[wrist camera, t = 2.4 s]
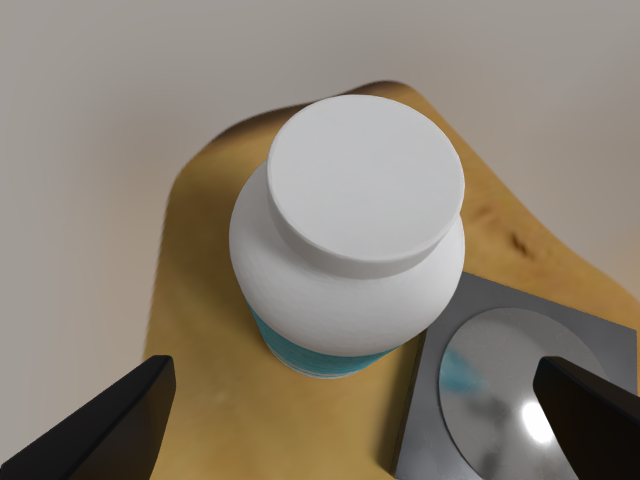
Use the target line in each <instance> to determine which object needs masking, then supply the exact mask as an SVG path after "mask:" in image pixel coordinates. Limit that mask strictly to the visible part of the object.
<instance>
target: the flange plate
mask: <svg viewBox="0 0 640 480" xmlns="http://www.w3.org/2000/svg"><path fill="white" fill-rule="evenodd" d="M543 356H560V357H562V358H564V359H566V360H568V361H570V362H572V363H574V364H576V365H578V366H580V367H582V368H584V369H586V370H588V371H590V372H592V373H594V374H595V375H597V376H599V377H601V378H603V379H605V380H607V381H609V382H611V383H613V384H615V385H617V386H619V387H621V388H623V389H625V390H626V391H628V392H630V393H632V394H634V395H636V396H637V335H636V330H634V329H631V328H628V327H625V326H622V325H619V324H616V323H613V322H610V321H607V320H604V319H601V318H598V317H595V316H593V315H590V314H587V313H584V312H581V311H578V310H575V309H572V308H569V307H566V306H563V305H560V304H557V303H554V302H551V301H548V300H546V299H543V298H540V297H537V296H534V295H531V294H528V293H525V292H522V291H519V290H516V289H513V288H510V287H507V286H504V285H501V284H498V283H496V282H493V281H490V280H487V279H484V278H481V277H478V276H475V275H472V274H469V273H466V272H463V271H462V273H461V276H460V279H459V282H458V285H457V288H456V290H455V292H454V294H453V296H452V298H451V299H450V301H449V303H448V304H447V306H446V307H445V309H444V310H443V311H442V312H441V314H440V315H439V316H438V317H437V318H436V319H435V321H434V322H432V323H431V324H430V325H429V326H428V327H427V328H426V329H424V330H423V331H422V334H421V338H420V343H419V347H418V351H417V356H416V360H415V364H414V369H413V373H412V378H411V382H410V386H409V391H408V395H407V399H406V404H405V408H404V413H403V417H402V421H401V426H400V430H399V434H398V439H397V443H396V447H395V452H394V456H393V461H392V465H391V469H390V475H391V476H392V477H394V478H396V479H398V480H579V479H578V478H577V476H576V474H575V473H574V471H573V469H572V467H571V466H570V464H569V462H568V461H567V459H566V457H565V455H564V453H563V452H562V450H561V448H560V446H559V444H558V442H557V440H556V438H555V435H554V433H553V431H552V429H551V427H550V425H549V423H548V421H547V419H546V417H545V414H544V412H543V410H542V408H541V406H540V404H539V402H538V400H537V398H536V396H535V393H534V391H533V386H532V385H533V379H534V376H535V372H536V369H537V366H538V363H539V360H540V359H541V358H542V357H543Z"/></svg>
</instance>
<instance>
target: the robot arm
mask: <svg viewBox="0 0 640 480" xmlns="http://www.w3.org/2000/svg"><path fill="white" fill-rule="evenodd" d="M532 386H533V391H534V393H535V396H536V398H537V400H538V402H539V404H540V406H541V408H542V410H543V412H544V414H545V417H546V419H547V421H548V423H549V425H550V427H551V429H552V431H553V433H554V435H555V438H556V440H557V442H558V444H559V446H560V448H561V450H562V452H563V453H564V455H565V457H566V459H567V461H568V462H569V464H570V466H571V467H572V469H573V471H574V473H575V474H576V476H577V478H578V479H579V480H640V397H638V396H636V395H634V394H632V393H630V392H628V391H626V390H625V389H623V388H621V387H619V386H617V385H615V384H613V383H611V382H609V381H607V380H605V379H603V378H601V377H599V376H597V375H595V374H594V373H592V372H590V371H588V370H586V369H584V368H582V367H580V366H578V365H576V364H574V363H572V362H570V361H568V360H566V359H564V358H562V357H560V356H543V357H542V358H541V359H540V360H539V363H538V366H537V369H536V372H535V376H534V379H533V385H532ZM175 391H176V378H175V370H174V363H173V359H172V357H171V356H170V355H154V356H152V357H150V358H149V359H147V360H146V361H145V362H143V363H142V364H140V365H139V366H138V367H136V368H135V369H134V370H132V371H131V372H129V373H128V374H127V375H125V376H124V377H122V378H121V379H120V380H118V381H117V382H115V383H114V384H113V385H111V386H110V387H109V388H107V389H106V390H104V391H103V392H102V393H100V394H99V395H97V396H96V397H95V398H93V399H92V400H91V401H89V402H88V403H86V404H85V405H84V406H82V407H81V408H79V409H78V410H77V411H75V412H74V413H73V414H71V415H70V416H68V417H67V418H66V419H64V420H63V421H61V422H60V423H59V424H57V425H56V426H55V427H53V428H52V429H50V430H49V431H48V432H46V433H45V434H43V435H42V436H41V437H39V438H38V439H36V440H35V441H34V442H32V443H31V444H30V445H28V446H27V447H25V448H24V449H23V450H21V451H20V452H18V453H17V454H16V455H14V456H13V457H12V458H10V459H9V460H7V461H6V462H5V463H3V464H2V465H1V469H0V480H149V479H150V476H151V474H152V471H153V468H154V466H155V463H156V460H157V457H158V454H159V450H160V447H161V443H162V440H163V436H164V432H165V429H166V425H167V421H168V418H169V414H170V410H171V407H172V403H173V399H174V396H175Z"/></svg>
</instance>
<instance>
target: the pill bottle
mask: <svg viewBox="0 0 640 480" xmlns="http://www.w3.org/2000/svg"><path fill="white" fill-rule="evenodd" d="M464 189H465V182H464V174H463V169H462V166H461V162H460V159H459V156H458V154H457V153H456V151H455V149H454V147H453V146H452V144H451V142H450V140H449V139H448V138H447V137H446V135H445V134H444V133H443V132H442V131H441V130H440V129H439V128H438V127H437V126H436V125H435V124H434V123H433V122H432V121H431V120H429V119H428V118H427V117H425V116H424V115H422V114H421V113H419V112H417V111H416V110H414V109H412V108H410V107H408V106H407V105H404V104H401V103H399V102H396V101H394V100H390V99H386V98H382V97H377V96H369V95H343V96H337V97H332V98H327V99H324V100H321V101H319V102H316V103H314V104H311V105H309V106H307V107H306V108H304V109H302V110H301V111H299V112H298V113H296V114H295V115H294V116H293V117H291V118H290V119H289V120H288V121H287V122H286V123H285V124H284V125H283V126H282V128H281V129H280V130H279V132H278V133H277V135H276V137H275V139H274V140H273V142H272V144H271V147H270V150H269V153H268V157H267V159H266V160H265V161H264V162H263V163H262V164H261V165H260V166H259V167H258V168H257V169H256V170H255V171H254V173H253V174H252V175H251V176H250V177H249V179H248V180H247V182H246V183H245V185H244V186H243V188H242V190H241V192H240V194H239V196H238V198H237V201H236V203H235V206H234V209H233V213H232V217H231V221H230V229H229V248H230V257H231V262H232V265H233V269H234V272H235V275H236V278H237V281H238V283H239V285H240V288H241V290H242V293H243V295H244V297H245V299H246V301H247V304H248V306H249V308H250V310H251V312H252V314H253V316H254V319H255V321H256V323H257V326H258V328H259V330H260V333H261V335H262V337H263V339H264V341H265V342H266V344H267V346H268V347H269V349H270V350H271V352H272V353H273V354H274V355H275V356H276V357H277V358H278V359H279V360H280V361H281V362H282V363H283V364H285V365H286V366H287V367H289V368H290V369H292V370H294V371H296V372H298V373H300V374H303V375H306V376H310V377H314V378H321V379H334V378H340V377H345V376H348V375H351V374H354V373H356V372H358V371H360V370H362V369H364V368H365V367H367V366H368V365H370V364H372V363H373V362H375V361H376V360H378V359H380V358H381V357H383V356H384V355H386V354H388V353H389V352H391V351H393V350H394V349H396V348H398V347H399V346H401V345H402V344H404V343H406V342H407V341H409V340H410V339H412V338H413V337H415V336H416V335H418V334H419V333H420V332H422V331H423V330H424V329H426V328H427V327H428V326H429V325H430V324H431V323H432V322H434V321H435V319H436V318H437V317H438V316H439V315H440V314H441V312H442V311H443V310H444V309H445V307H446V306H447V304H448V303H449V301H450V299H451V298H452V296H453V294H454V292H455V290H456V288H457V285H458V282H459V279H460V276H461V273H462V269H463V263H464V255H465V238H464V231H463V226H462V221H461V218H460V215H459V212H460V209H461V206H462V202H463V198H464Z"/></svg>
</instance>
